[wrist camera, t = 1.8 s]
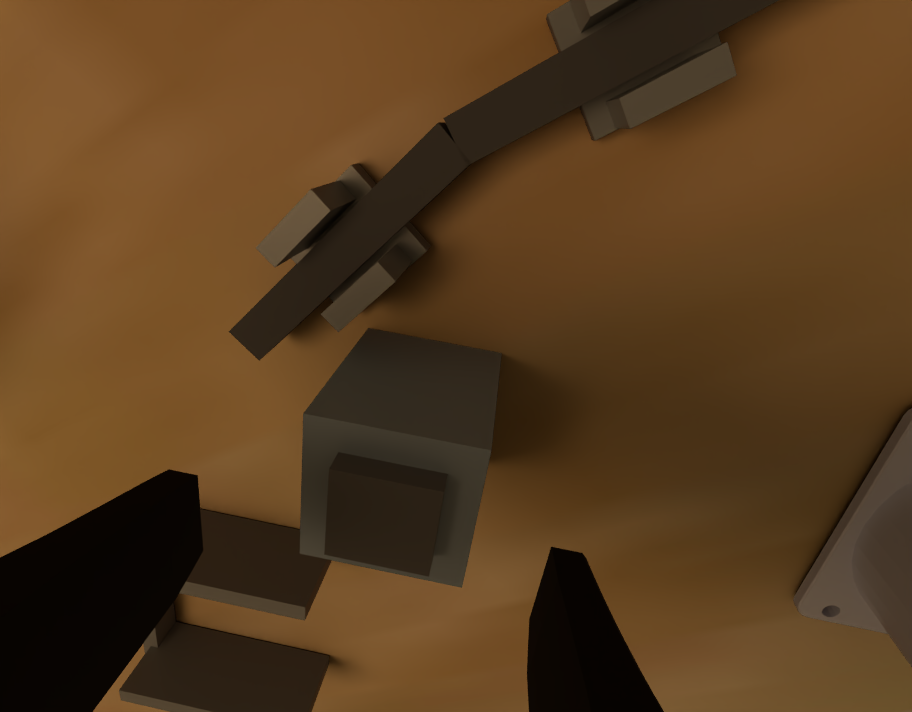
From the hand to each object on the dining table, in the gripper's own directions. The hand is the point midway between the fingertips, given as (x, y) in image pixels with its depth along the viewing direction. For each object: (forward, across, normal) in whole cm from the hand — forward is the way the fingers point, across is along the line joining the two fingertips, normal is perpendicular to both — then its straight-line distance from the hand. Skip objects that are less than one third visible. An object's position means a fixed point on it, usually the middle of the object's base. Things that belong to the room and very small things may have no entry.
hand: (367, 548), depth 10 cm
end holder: (+6, +6, +10) cm, 13 cm away
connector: (+6, 0, 0) cm, 6 cm away
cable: (+6, -1, -7) cm, 9 cm away
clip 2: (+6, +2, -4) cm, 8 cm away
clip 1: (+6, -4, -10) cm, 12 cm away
